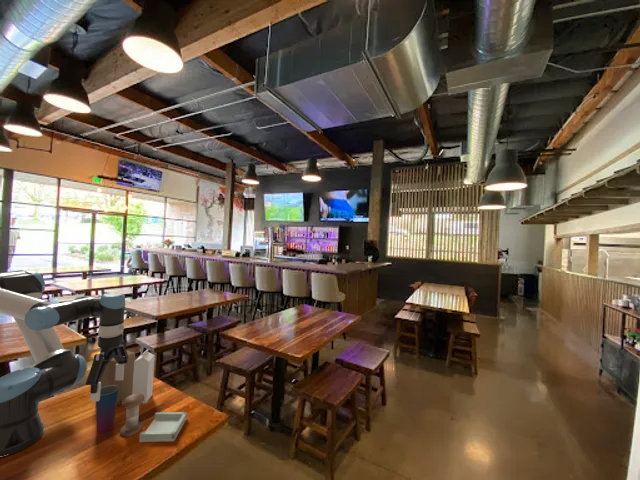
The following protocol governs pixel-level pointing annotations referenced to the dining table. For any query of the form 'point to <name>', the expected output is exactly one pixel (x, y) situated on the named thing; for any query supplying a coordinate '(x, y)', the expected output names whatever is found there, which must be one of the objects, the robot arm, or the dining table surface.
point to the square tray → (164, 427)
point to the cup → (106, 408)
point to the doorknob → (132, 415)
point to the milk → (143, 375)
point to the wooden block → (124, 384)
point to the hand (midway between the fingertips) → (107, 389)
